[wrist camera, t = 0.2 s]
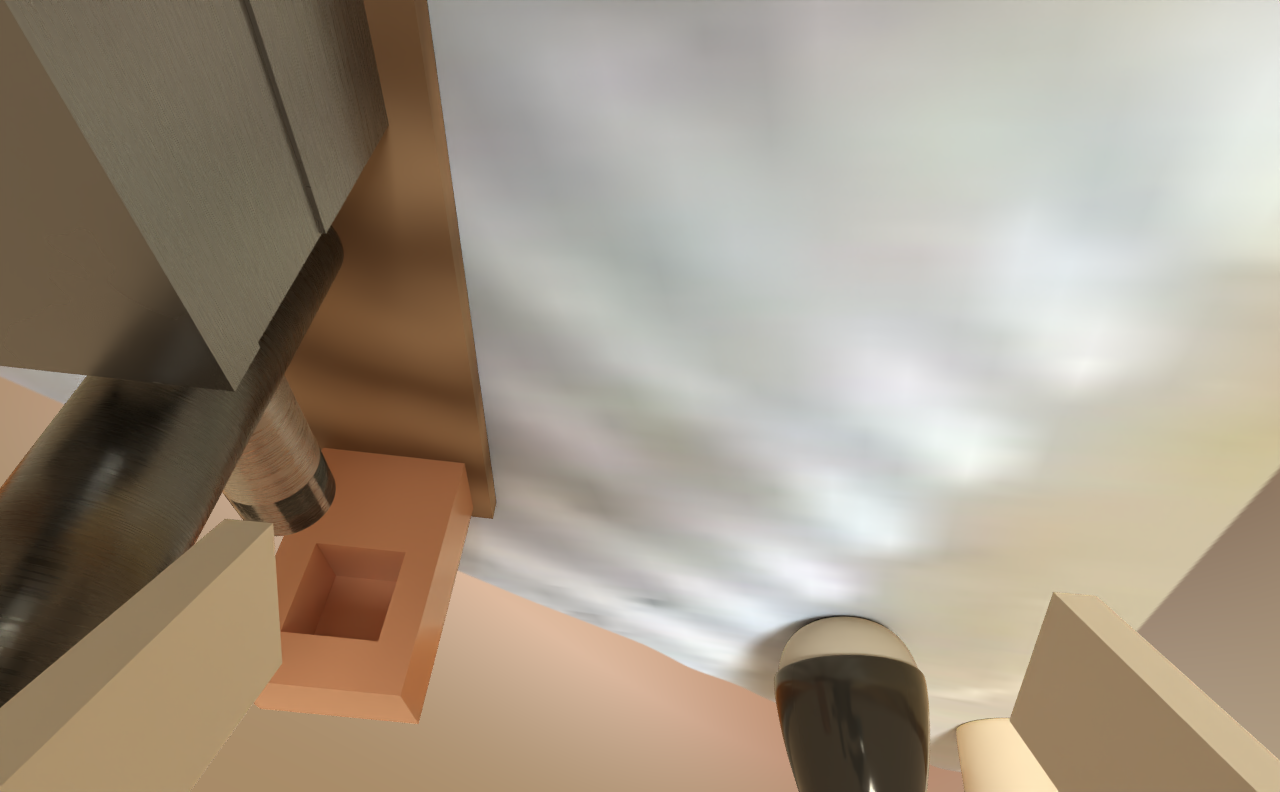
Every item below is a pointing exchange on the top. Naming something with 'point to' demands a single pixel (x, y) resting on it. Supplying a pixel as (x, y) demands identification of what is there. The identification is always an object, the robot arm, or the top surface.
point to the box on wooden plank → (171, 175)
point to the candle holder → (998, 759)
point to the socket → (369, 588)
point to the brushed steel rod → (152, 484)
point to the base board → (399, 286)
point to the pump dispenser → (853, 709)
